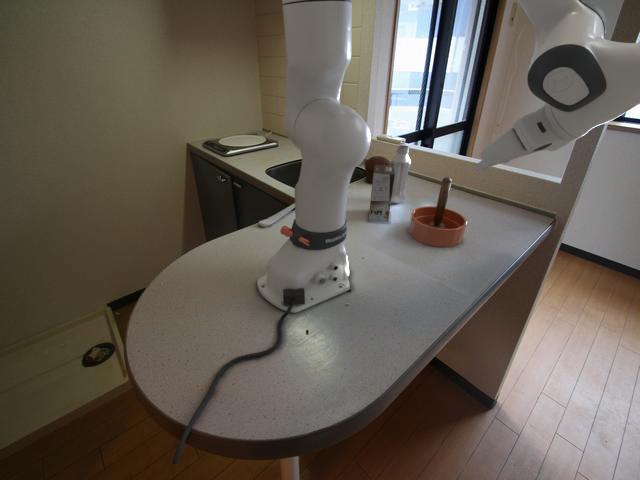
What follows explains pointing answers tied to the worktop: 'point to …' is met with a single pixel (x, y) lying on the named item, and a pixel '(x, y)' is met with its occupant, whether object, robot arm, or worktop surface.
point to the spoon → (275, 216)
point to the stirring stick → (441, 204)
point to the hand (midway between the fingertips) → (491, 163)
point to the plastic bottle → (400, 174)
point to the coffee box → (381, 192)
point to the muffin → (371, 164)
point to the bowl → (437, 236)
